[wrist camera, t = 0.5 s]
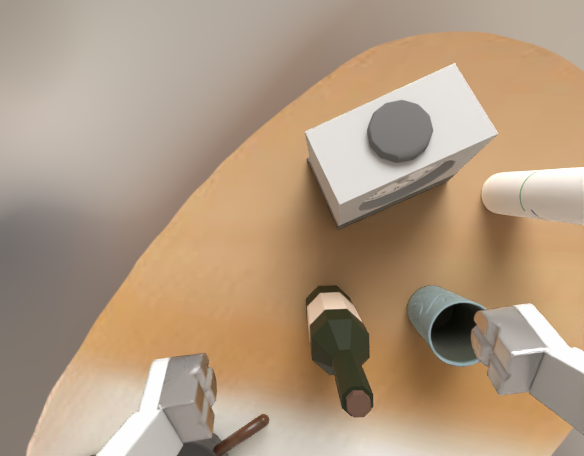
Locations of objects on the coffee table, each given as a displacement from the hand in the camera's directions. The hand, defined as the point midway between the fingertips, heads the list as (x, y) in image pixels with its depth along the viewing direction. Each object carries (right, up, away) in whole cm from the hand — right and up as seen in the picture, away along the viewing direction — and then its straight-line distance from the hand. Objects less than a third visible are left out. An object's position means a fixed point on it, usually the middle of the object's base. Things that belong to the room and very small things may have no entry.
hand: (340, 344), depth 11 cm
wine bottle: (+5, -10, +55) cm, 56 cm away
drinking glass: (+24, -11, +55) cm, 61 cm away
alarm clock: (+13, +15, +52) cm, 56 cm away
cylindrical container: (+35, +10, +53) cm, 64 cm away
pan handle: (-11, -33, +55) cm, 65 cm away
